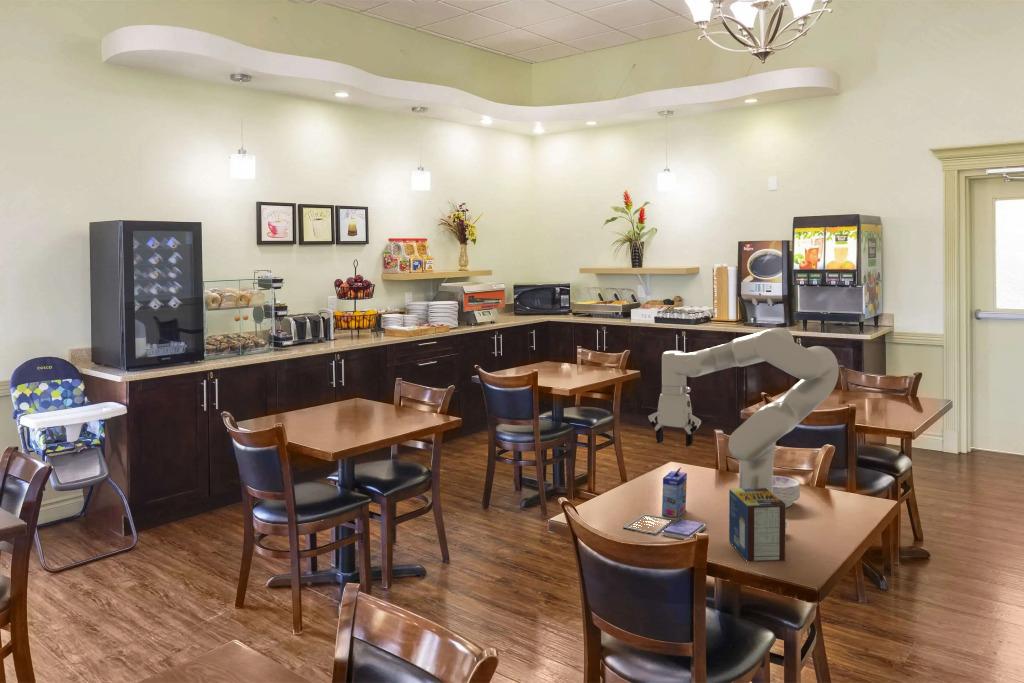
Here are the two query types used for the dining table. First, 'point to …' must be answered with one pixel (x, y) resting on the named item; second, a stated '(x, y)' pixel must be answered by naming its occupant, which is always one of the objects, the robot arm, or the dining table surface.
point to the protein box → (757, 524)
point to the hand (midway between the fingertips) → (674, 444)
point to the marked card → (650, 522)
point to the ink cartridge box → (674, 493)
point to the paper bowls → (786, 489)
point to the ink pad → (683, 529)
